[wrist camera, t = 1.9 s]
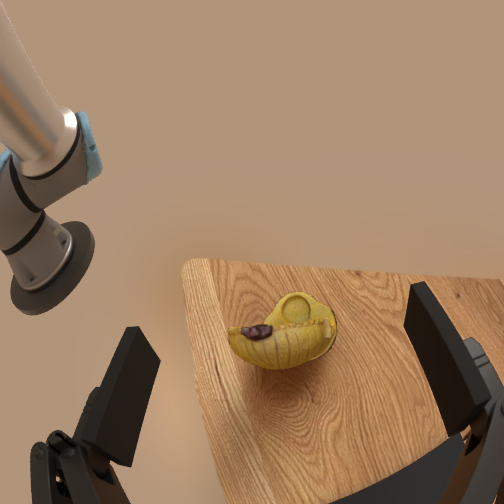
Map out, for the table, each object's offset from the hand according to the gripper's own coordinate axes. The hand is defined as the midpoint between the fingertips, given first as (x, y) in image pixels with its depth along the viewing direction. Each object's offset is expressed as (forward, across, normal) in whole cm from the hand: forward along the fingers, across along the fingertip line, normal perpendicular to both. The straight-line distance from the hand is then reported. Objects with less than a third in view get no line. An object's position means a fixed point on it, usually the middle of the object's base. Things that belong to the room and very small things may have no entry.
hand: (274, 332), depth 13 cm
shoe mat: (-22, +14, -27) cm, 37 cm away
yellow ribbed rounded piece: (+11, 0, -15) cm, 19 cm away
